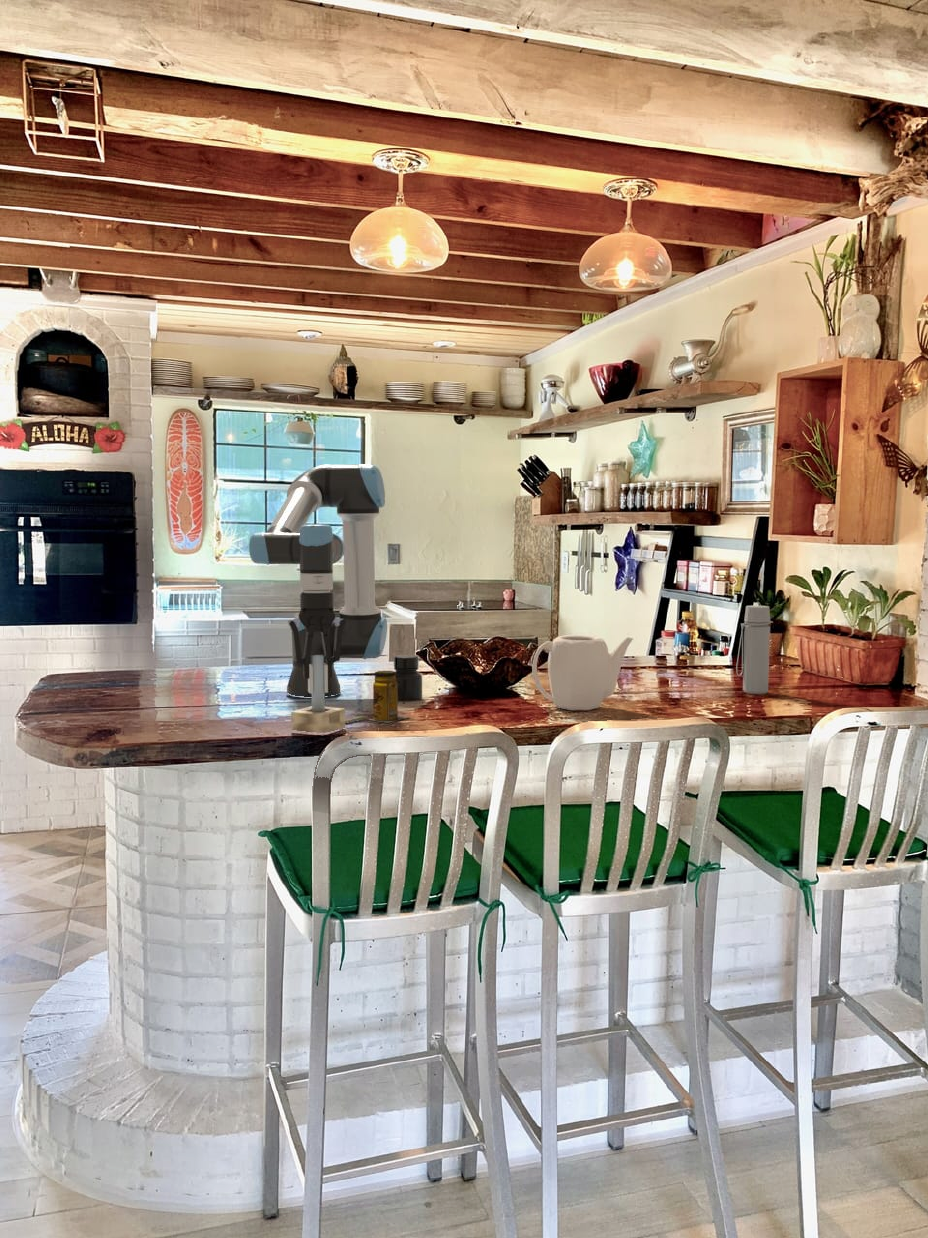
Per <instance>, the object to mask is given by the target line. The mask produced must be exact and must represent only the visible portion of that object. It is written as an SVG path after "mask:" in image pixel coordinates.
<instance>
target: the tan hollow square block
mask: <svg viewBox="0 0 928 1238" xmlns="http://www.w3.org/2000/svg"><path fill="white" fill-rule="evenodd" d="M345 720H346V708H343V707H335V706H334V707H333V706H325V712H321V713H319V712H312V705H311V706H307V707H304V708H300V709H297V710H293V711H290V721H291V722H290V728H291V730H297V731H306V732H317V733H326V732H330V731H335V730H338V729H343V728H345V729H346V724H345Z"/></svg>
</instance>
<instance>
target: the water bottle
mask: <svg viewBox="0 0 928 1238" xmlns="http://www.w3.org/2000/svg"><path fill="white" fill-rule="evenodd" d="M770 611H771V610H770V606H767V605H746V606H745V613H744V620H743V621H744V622H743V623H740V626H741V627H740V628H741V632H740V633H741V634H740V638H739V646H738V652H737V653H738V654H737V660H736V668H735V669H736V675H737V676H738V677H739V676H740V677H741V676H742V691H743V692H744V693H745V694H748V695H765V694H767V693H768V692H769V675H770V641H771V640H770V639H771V626H770V624H771V622H772V621H771V613H770ZM740 649H741V650H740ZM740 651H741V672H740V674H739V673H738V671H739V670H738V664H739V656H740Z"/></svg>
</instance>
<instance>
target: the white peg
mask: <svg viewBox="0 0 928 1238" xmlns="http://www.w3.org/2000/svg"><path fill="white" fill-rule="evenodd" d="M311 665H313V693H312V698H311V706H312V712H319V713H321V712H325V707H326V705H325V704H326V703H325V701H326V700H325V699H326V698H325V693H324V655H312V656H311Z"/></svg>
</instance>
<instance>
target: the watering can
mask: <svg viewBox="0 0 928 1238" xmlns="http://www.w3.org/2000/svg"><path fill="white" fill-rule="evenodd" d="M633 640H634V638H632V637H629V636H627V637H626V638H625V639H624V640H623V641H621V642H620V644H619V645H618V646H617V647H616V648H615V649H614V650H613V651H612V652H611V653H609V648H608V646H607V643H606V641H605V639H604V638H601V637H599V636H593V635H583V634H582V635H579V634H578V635H577V634H572V635H570V634H568V635H560V636H559V635H558V636H557V637H555V638H554V639H553V641H551V640H547V641H546V642H543V643H542V644H541V645H540V646H538V647H537V650H536V652H535V654H534V656H533V661H532V666H531V669H532V673H531V675H532V677H533V682H534V684H535V687H536V689H537V690H538V691H539V692H540V693H541V694H542V696H543V697H544V698H545V699H546V700H549V701H550V702H552V703H553V704H554V706H555V707H556V708H557V709H560V708H561V709H562V710H568V711H591V710H594V709H595V710H596V709H599V708H600V707H601V704H602V702H603V700H604V699H606V698H609V697H611V696H612V695H613V694H614V693H615V690H616V687H617V683H618V678H619V676H620V671H621V667H622V664H623V660H624V657H625V655H626V652H627V650H628V647H629V646H630V644H631V643H632V641H633ZM544 649H547V650H549V652H548V653H549V654H548V658H547V674H548V680H549V688H550V692H551V694H550V693H548V692H547V691H546V690H545V688H544V687H543V685H542V683H541V681H540V677H539V674H538V665H537V664H538V660H539V656H540V655H541V652H542V651H543V650H544Z"/></svg>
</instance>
